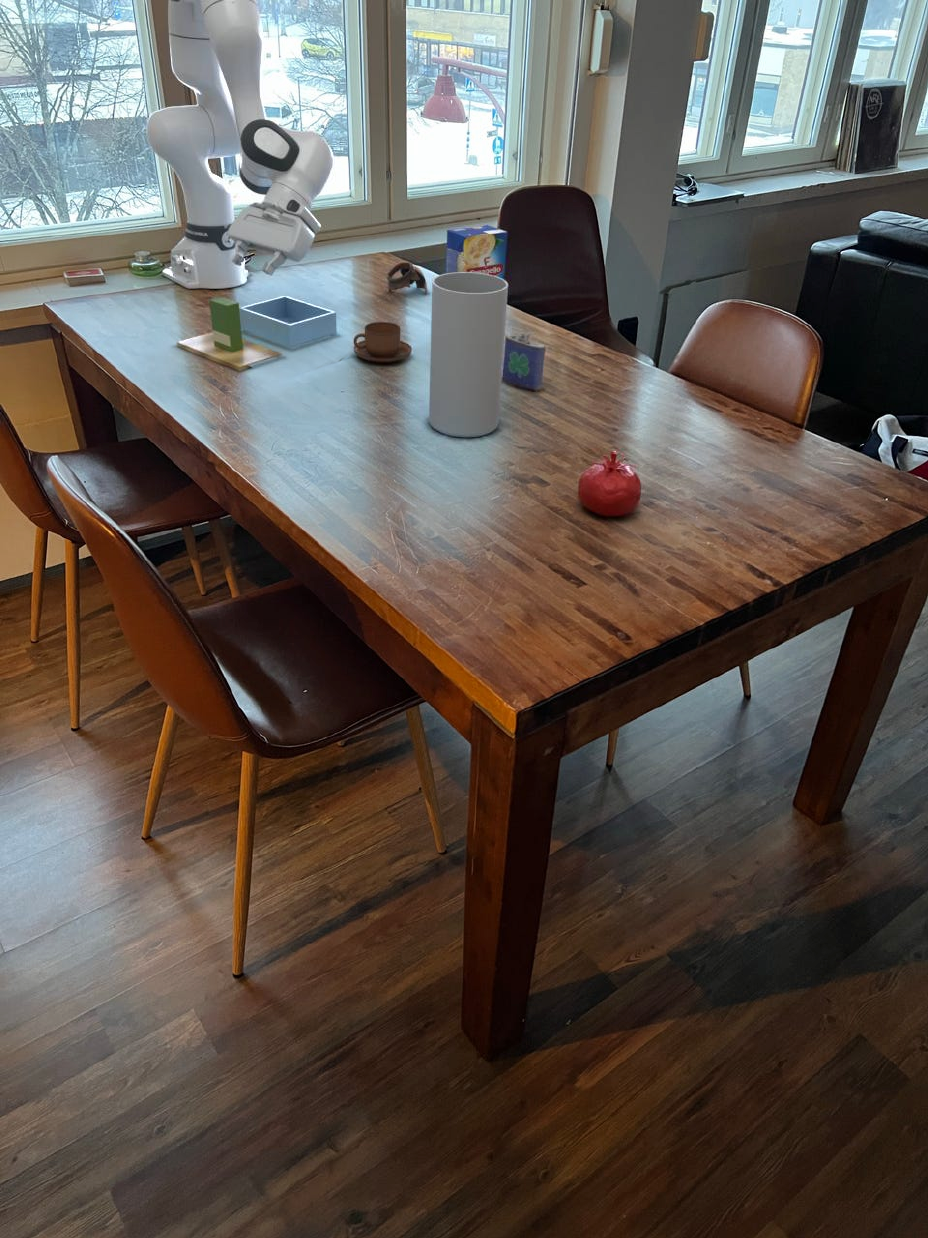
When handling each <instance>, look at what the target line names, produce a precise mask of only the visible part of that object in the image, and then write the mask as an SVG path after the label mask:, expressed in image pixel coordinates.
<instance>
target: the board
mask: <svg viewBox="0 0 928 1238" xmlns="http://www.w3.org/2000/svg"><path fill="white" fill-rule="evenodd" d="M242 343H243V349H242V350H239V351H236V352H232V353H231V352H229V351H226V350H224V349H221V348H218V347H216V346H214V338H213V331H211V332H208V333H204V334H201V335H197V336H194V337H190V338H186V339H183V340H180V341H177V342H176V346H177V348H179V349H182V350H184V351H186V352H189V353H192V354H195V355H197V356H200V357H203V358H205V359H208V360H210V361H212V362H214V363H216V364H217V363H218V364H220V365H223V366H226V367H228V368H230V369H233V370H236V371H238V372H242V371H246V370H249V369H252V368H253V367H252V366H251V365H254V364H256V363H259V362H263V361H267V360H269V359H272V358H275V357H278V356H282V354H283V353H282V352H280V351H276V350H273V349H271V348H269V347H265V346H262V345H260V344H257V343H255V342H251V341H249V340H246V339H244V338H242Z"/></svg>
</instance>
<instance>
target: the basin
mask: <svg viewBox="0 0 928 1238" xmlns="http://www.w3.org/2000/svg"><path fill="white" fill-rule="evenodd" d="M239 311H240V322H241V331H245V332H248V333H251V334H254V335H257V336H259V337H262V338H265V339H268V340H271V341H273V342H276V343H279V344H281V345H284V346H287V347H290V348H293V347H296V346H300V345H303V344H306V343H309V342H312V341H316V340H319V339H322V338H326V337H329V336H332V335H335V334H337V333H338V332H337V312H336V311H335V310H331V309H327V308H325V307H321V306H318V305H315V304H313V303H308V302H306V301H303V300H300V299H296V298H294V297H291V296H287V295H283V296H278V297H276V298H272V299H268V300H264V301H260V302H256V303H252V304H248V305H245V306H241V307H239Z"/></svg>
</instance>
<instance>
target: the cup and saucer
mask: <svg viewBox="0 0 928 1238" xmlns="http://www.w3.org/2000/svg"><path fill="white" fill-rule="evenodd" d="M359 338H364V340H361V341H358V339H359ZM353 352H354V353H355V354H356V355H357V356H358V357H359V358H361V359H363V360H365V361H369V362H374V363H393V362H398V361H401V360H404V359H406V358H407V357H408V356H410V354H411V353H412V346H411V345H410V344H409V343H407V342H405V341H403V340H401V327H400V325H398V324H396V323H393V322H387V321H377V322H376V321H375V322H371V323H367V324H366V325H365V326H364V332H363V333H361V332H360V333H357V334H356V335H355V336H354V337H353Z"/></svg>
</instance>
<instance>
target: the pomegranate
mask: <svg viewBox="0 0 928 1238" xmlns="http://www.w3.org/2000/svg"><path fill="white" fill-rule="evenodd" d="M617 456H618V453H617V451H616V450H611V451H610V458H609V456H608V455H605V454H603V453H601V457H603V458H605V459H604V460H602V461H599V462H596V461H593V462H590V463H587V466H590V467H588V468H586V469H585V470H584V471H583V472H582V473H581V474H580V476H579V480H578V487H577V495H578V498H579V501H580V502H581V504H582V505H583V506H584V507H585V509H587V510H589V511H590V512H593V513H595V514H596V515H599V516H602V517H606V518H610V517H622V516H625V515H628V514H629V513H632V512H633V511H634V510H635V509H636V508H637V507H638V505H639V502H640V499H641V494H642V483H641V480H640V477H639V475H638V474H637V472H635V471H634V470H633V467H634V468H637V469H640V468H639V467H638V466H636V465H634V464H631V463H629V464H623V462H624V461H626V462H628V461H629V460H630V458H626V457H622V458H621V459H619V460H617ZM591 465H592V466H591Z"/></svg>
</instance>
